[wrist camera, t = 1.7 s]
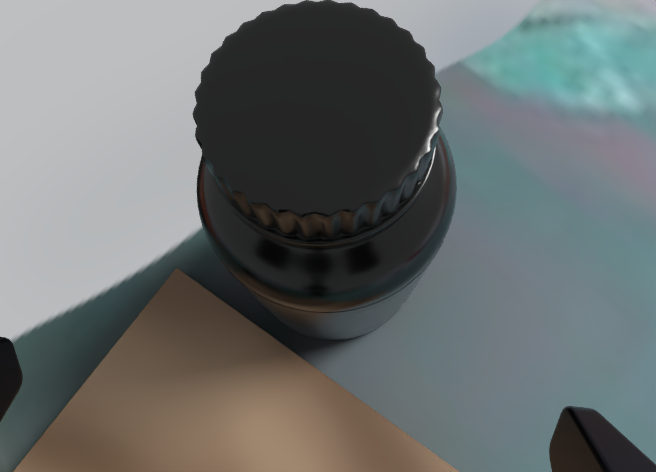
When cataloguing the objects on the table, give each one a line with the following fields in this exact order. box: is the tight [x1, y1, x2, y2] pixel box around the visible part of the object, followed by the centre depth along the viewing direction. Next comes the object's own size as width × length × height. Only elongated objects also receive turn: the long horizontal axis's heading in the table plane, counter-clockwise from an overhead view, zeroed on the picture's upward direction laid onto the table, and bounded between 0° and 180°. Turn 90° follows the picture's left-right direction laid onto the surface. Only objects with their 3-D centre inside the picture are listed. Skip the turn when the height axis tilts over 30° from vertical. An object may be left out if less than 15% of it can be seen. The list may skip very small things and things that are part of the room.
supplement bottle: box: [193, 0, 457, 340], centre depth 15 cm, size 7×7×12 cm
